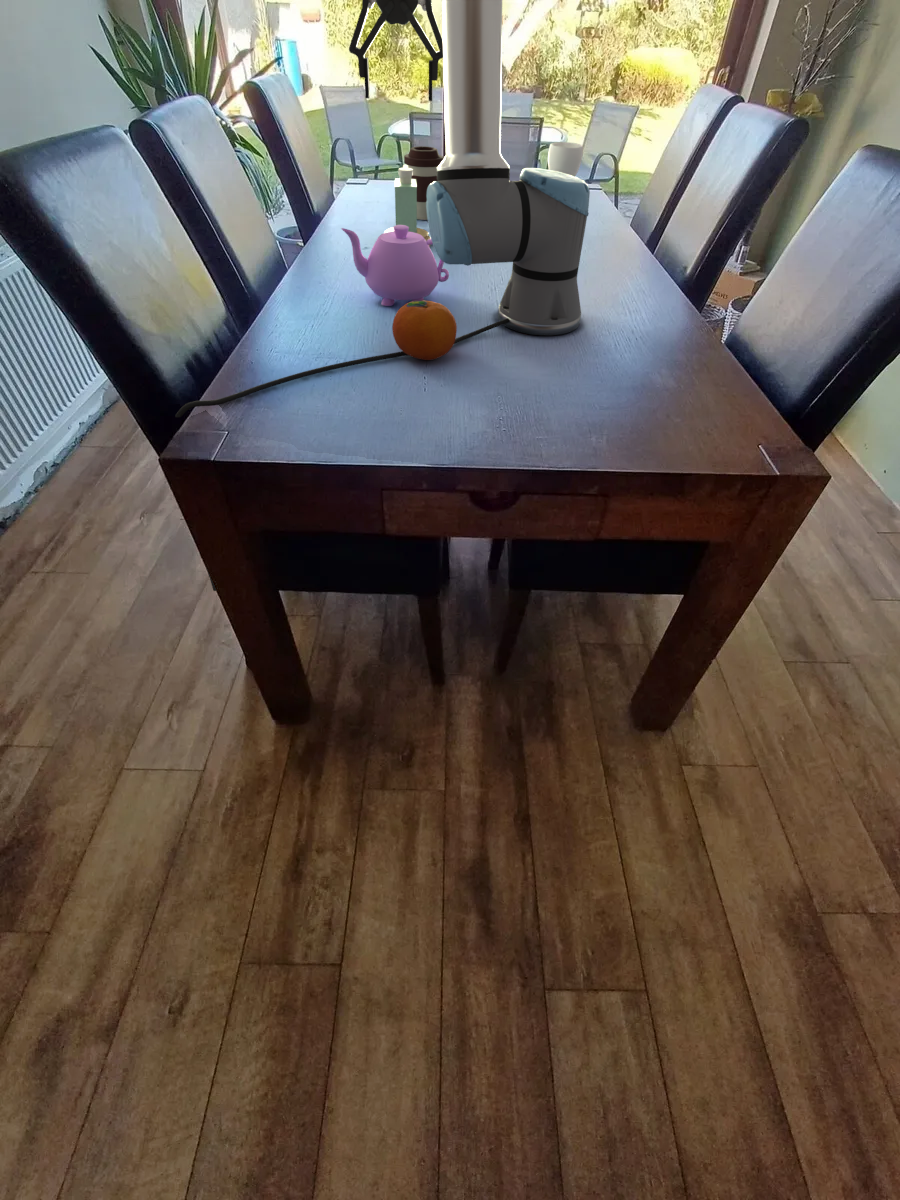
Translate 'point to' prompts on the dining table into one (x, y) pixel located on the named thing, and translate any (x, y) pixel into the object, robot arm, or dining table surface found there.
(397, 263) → the teapot
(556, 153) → the cup
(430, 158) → the coffee cup
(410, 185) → the soap bottle
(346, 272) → the dining table surface
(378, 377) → the dining table surface
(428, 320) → the fruit
